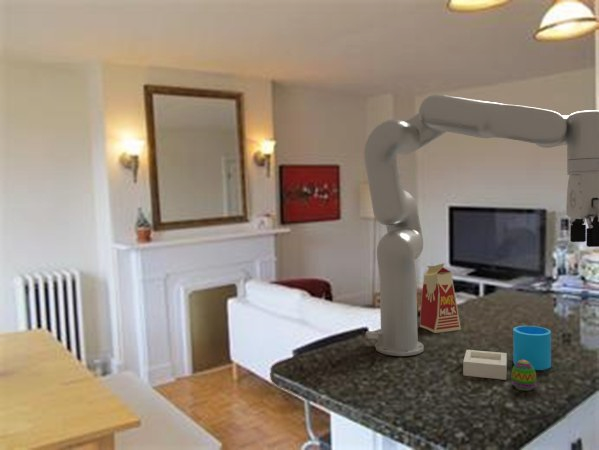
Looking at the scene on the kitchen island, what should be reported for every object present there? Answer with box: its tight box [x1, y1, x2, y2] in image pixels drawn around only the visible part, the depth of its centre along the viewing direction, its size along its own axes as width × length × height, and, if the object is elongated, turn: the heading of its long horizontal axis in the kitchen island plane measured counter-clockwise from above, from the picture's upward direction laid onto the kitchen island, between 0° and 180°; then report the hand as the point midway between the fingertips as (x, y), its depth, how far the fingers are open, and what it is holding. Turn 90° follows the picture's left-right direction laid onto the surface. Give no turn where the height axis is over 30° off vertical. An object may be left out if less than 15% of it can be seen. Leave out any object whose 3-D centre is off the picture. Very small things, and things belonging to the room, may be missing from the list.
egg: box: [510, 360, 537, 392], centre depth 109 cm, size 5×5×6 cm
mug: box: [512, 325, 552, 371], centre depth 125 cm, size 12×8×8 cm
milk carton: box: [419, 263, 462, 334], centre depth 156 cm, size 9×9×20 cm
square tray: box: [462, 349, 508, 381], centre depth 120 cm, size 9×9×3 cm
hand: (586, 244), depth 116 cm, fingers open, 9 cm apart
